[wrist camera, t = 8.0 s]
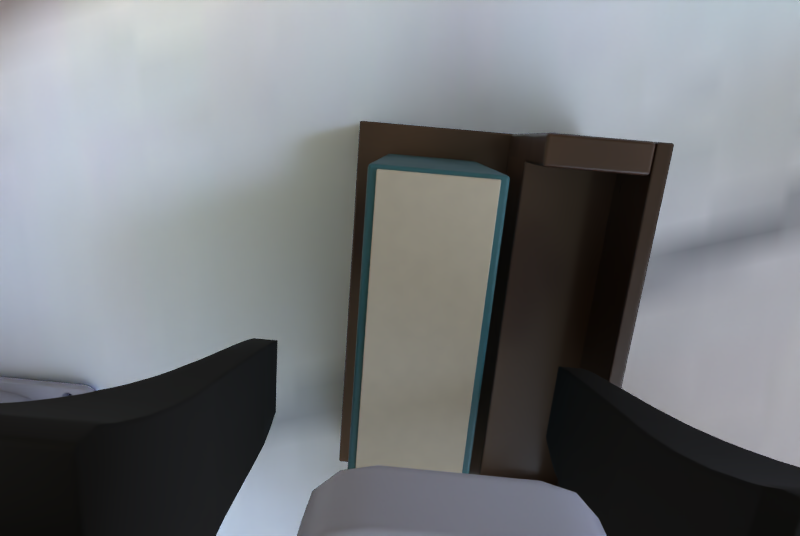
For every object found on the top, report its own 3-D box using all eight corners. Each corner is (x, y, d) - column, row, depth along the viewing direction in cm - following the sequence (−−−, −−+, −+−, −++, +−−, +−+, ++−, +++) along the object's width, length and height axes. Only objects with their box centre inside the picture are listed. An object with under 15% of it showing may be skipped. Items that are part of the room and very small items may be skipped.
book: (365, 441, 20) (339, 587, 13) (387, 153, 17) (367, 163, 10) (442, 448, 20) (452, 599, 13) (476, 161, 17) (511, 175, 10)
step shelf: (344, 438, 21) (314, 560, 15) (365, 122, 18) (336, 114, 12) (532, 456, 21) (578, 586, 15) (587, 141, 18) (674, 143, 12)
